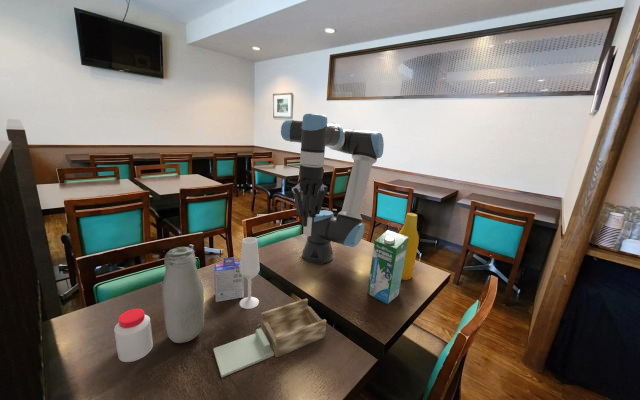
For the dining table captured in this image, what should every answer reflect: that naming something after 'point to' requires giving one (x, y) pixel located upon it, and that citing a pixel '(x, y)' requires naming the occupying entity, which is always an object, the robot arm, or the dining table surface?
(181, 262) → the glass bottle
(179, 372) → the dining table surface
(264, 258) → the dining table surface
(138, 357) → the pill bottle
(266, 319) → the box
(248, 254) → the champagne flute
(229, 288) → the ink cartridge box
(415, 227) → the beer bottle
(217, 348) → the lid
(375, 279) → the milk carton
